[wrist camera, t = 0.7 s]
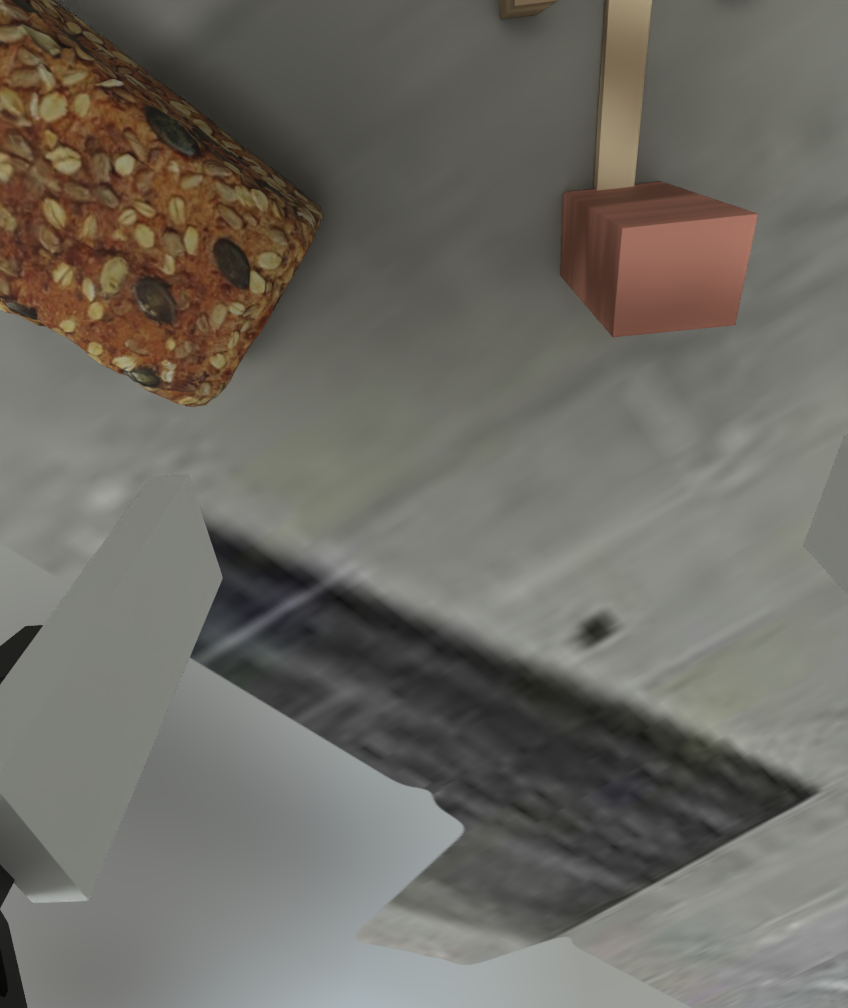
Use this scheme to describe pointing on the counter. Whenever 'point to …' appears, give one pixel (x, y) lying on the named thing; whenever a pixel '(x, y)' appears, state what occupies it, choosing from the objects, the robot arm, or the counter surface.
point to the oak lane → (523, 7)
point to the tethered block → (646, 215)
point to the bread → (133, 212)
